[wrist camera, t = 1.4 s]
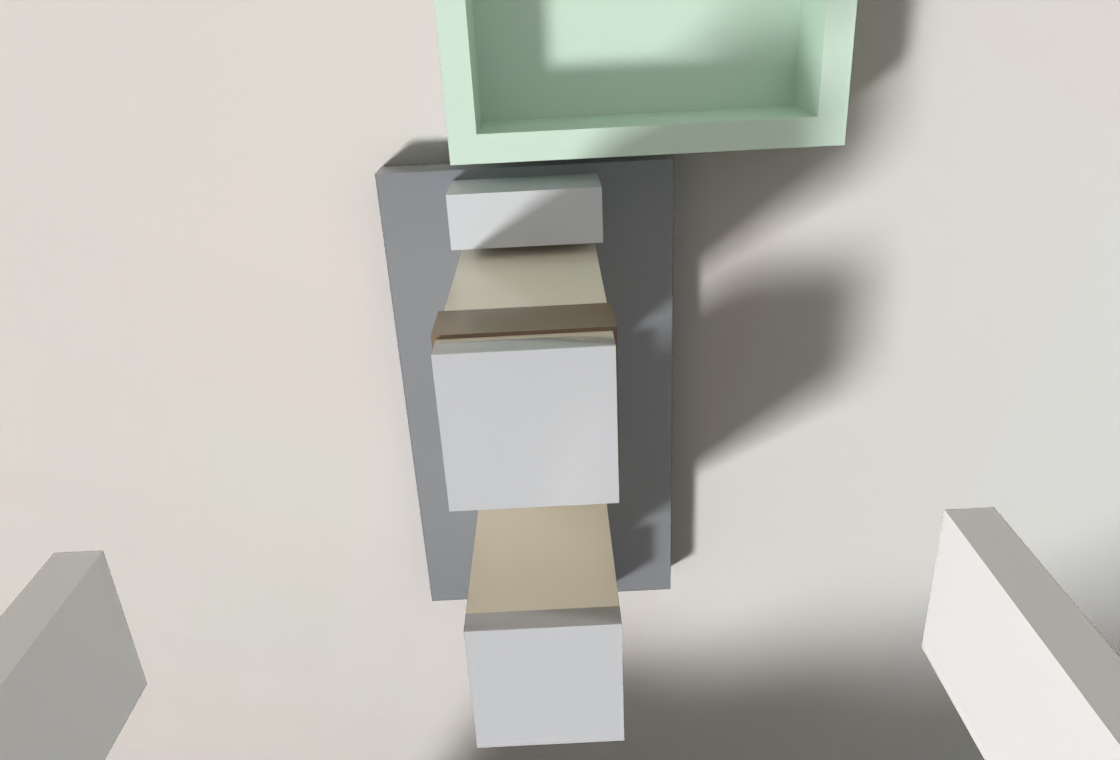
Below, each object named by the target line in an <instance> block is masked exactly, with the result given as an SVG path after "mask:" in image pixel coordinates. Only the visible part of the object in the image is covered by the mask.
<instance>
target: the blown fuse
mask: <svg viewBox="0 0 1120 760" xmlns="http://www.w3.org/2000/svg"><path fill="white" fill-rule="evenodd" d="M431 343H432V353H431V360H432V368H433V377H434V385H435V394H436V402H437V411H438V419H439V428H440V436H441V444H442V453H443V461H444V470H445V478H446V487H447V495H448V504H449V511H469V510H489V509H509V508H529V507H548V506H568V505H588V504H608V503H619V486H620V447H619V399H618V351H617V324H616V320H615V315H614V310H613V306H612V302H611V303H607V301H606V296H605V291H604V286H603V281H602V276H601V272H600V267H599V262H598V257H597V252H596V247H595V243H584V244H565V245H545V246H526V247H506V248H486V249H467V250H462V252H461V255H460V259H459V262H458V265H457V269H456V272H455V276H454V279H453V282H452V286H451V289H450V293H449V296H448V299H447V303H446V306H445V309H444V311H438V314H437V317H436V320H435V323H434V327H433V330H432V333H431Z"/></svg>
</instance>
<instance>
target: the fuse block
mask: <svg viewBox="0 0 1120 760" xmlns="http://www.w3.org/2000/svg"><path fill="white" fill-rule="evenodd" d="M375 178H376V186H377V193H378V201H379V208H380V216H381V223H382V230H383V238H384V245H385V253H386V260H387V268H388V275H389V283H390V290H391V297H392V305H393V312H394V320H395V327H396V335H397V342H398V350H399V357H400V364H401V372H402V379H403V387H404V394H405V402H406V409H407V416H408V424H409V431H410V439H411V446H412V454H413V461H414V469H415V476H416V483H417V491H418V498H419V506H420V513H421V521H422V528H423V536H424V543H425V550H426V558H427V565H428V573H429V580H430V588H431V595H432V601H440V600H460V599H468V591H469V583H470V574H471V566H472V557H473V549H474V541H475V532H476V524H477V516H478V510H469V511H449V504H448V495H447V487H446V478H445V470H444V461H443V453H442V444H441V436H440V428H439V419H438V411H437V402H436V394H435V385H434V377H433V368H432V360H431V353H432V343H431V333H432V330H433V327H434V323H435V320H436V317H437V314H438V311H444V309H445V306H446V303H447V299H448V296H449V293H450V289H451V286H452V282H453V279H454V276H455V272H456V269H457V265H458V262H459V259H460V255H461V252H462V250H467V249H486V248H506V247H526V246H545V245H565V244H584V243H595V247H596V252H597V257H598V262H599V267H600V272H601V276H602V281H603V286H604V291H605V296H606V301H607V303H611V302H612V306H613V310H614V315H615V320H616V324H617V351H618V399H619V447H620V486H619V503H608V504H607V511H608V519H609V527H610V534H611V542H612V550H613V558H614V566H615V574H616V582H617V590H618V592H619V591H639V590H658V589H670V572H671V441H672V310H673V179H674V159H673V158H672V156H671V155H670V154H662V155H643V156H623V157H604V158H584V159H565V160H545V161H525V162H506V163H486V164H467V165H450V163H444V164H424V165H405V166H385V167H381V168H380V169H379V170H378V171H377V173H376V174H375Z"/></svg>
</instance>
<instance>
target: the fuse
mask: <svg viewBox="0 0 1120 760" xmlns="http://www.w3.org/2000/svg"><path fill="white" fill-rule="evenodd" d="M464 640H465V648H466V657H467V665H468V673H469V682H470V690H471V699H472V707H473V716H474V724H475V733H476V741H477V748H485V747H505V746H525V745H545V744H565V743H585V742H604V741H624V704H623V658H622V622H621V614H620V606H619V598H618V590H617V582H616V574H615V566H614V558H613V550H612V542H611V534H610V527H609V519H608V511H607V504H588V505H568V506H548V507H529V508H509V509H489V510H478V516H477V524H476V532H475V541H474V549H473V557H472V566H471V574H470V583H469V591H468V599H467V608H466V616H465V624H464Z"/></svg>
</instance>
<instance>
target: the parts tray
mask: <svg viewBox="0 0 1120 760" xmlns="http://www.w3.org/2000/svg"><path fill="white" fill-rule="evenodd" d="M434 5H435V15H436V25H437V36H438V46H439V56H440V66H441V76H442V86H443V97H444V107H445V117H446V127H447V137H448V148H449V158H450V165H467V164H486V163H506V162H525V161H545V160H565V159H584V158H604V157H623V156H643V155H662V154H682V153H702V152H721V151H741V150H760V149H780V148H799V147H819V146H838V145H845V136H846V125H847V113H848V102H849V90H850V79H851V68H852V56H853V45H854V33H855V22H856V11H857V0H434Z"/></svg>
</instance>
